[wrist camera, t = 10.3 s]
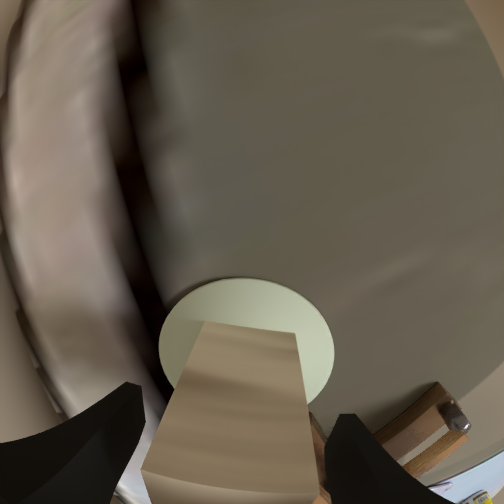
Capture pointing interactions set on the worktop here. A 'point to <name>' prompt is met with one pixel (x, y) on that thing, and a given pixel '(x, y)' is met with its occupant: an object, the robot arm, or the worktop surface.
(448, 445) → the copper rod course
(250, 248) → the worktop surface
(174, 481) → the birch handle block
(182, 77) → the worktop surface
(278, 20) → the worktop surface
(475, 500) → the supplement bottle
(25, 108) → the worktop surface
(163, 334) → the pad
